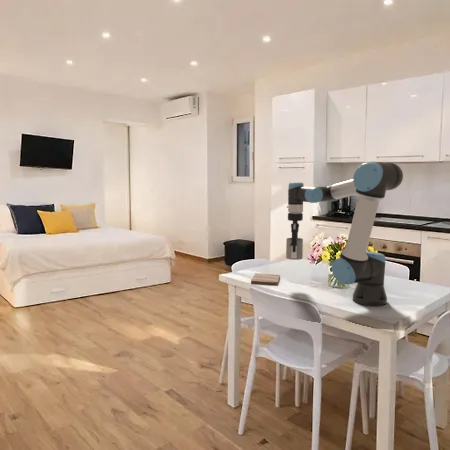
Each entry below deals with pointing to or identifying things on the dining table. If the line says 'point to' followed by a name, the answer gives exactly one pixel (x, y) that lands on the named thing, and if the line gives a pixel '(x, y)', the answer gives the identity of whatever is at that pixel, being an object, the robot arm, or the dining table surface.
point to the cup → (299, 248)
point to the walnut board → (265, 279)
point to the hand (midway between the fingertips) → (294, 256)
